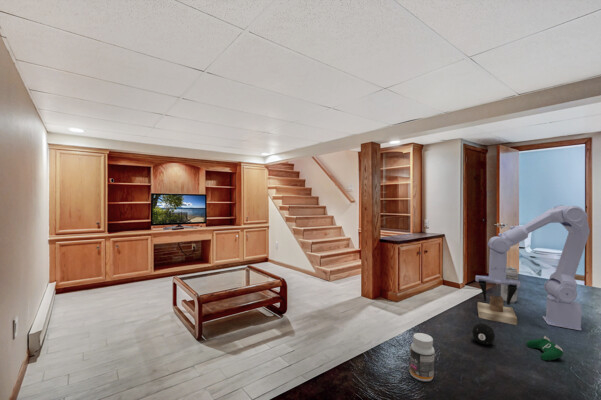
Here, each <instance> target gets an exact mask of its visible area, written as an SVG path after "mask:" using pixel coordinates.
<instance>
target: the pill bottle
mask: <svg viewBox="0 0 601 400" xmlns="http://www.w3.org/2000/svg"><path fill="white" fill-rule="evenodd" d="M412 341H413V342H412V343H411V345H410V355H409V356H410V357H409V374H410V375H411V376H412V377H413V378H414V379H416V380H418V381H420V382H430V381H432V380H433V378H434V375H435V374H434V373H435V355H436V354H435V352H436V351H435V348H434V346H433V345H434V339H433V337H432V336H430V335H429V334H426V333H422V332H415V333H414V334H413V336H412Z"/></svg>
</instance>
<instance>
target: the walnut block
mask: <svg viewBox="0 0 601 400" xmlns="http://www.w3.org/2000/svg"><path fill="white" fill-rule="evenodd" d="M489 304H490V310H491V311H497V312H503V306H504V301H503V298H502V296H501V295H495V294H489Z"/></svg>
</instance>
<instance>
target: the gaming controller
mask: <svg viewBox="0 0 601 400" xmlns="http://www.w3.org/2000/svg"><path fill="white" fill-rule="evenodd" d="M526 346H527V348H530V349H540V350H541V351H542V354H541V355H540V359H541V360H542V361H552V360H557V359H559V358H562V356H563V355H564V351H563V349H562V348H561V347H560V346H559V345H558V344H555V343H554V342H552V341H551V339H549V337H547V336H546V335H544V337H542V338H539V339H530V340H528V341H527V342H526Z"/></svg>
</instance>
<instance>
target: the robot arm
mask: <svg viewBox="0 0 601 400" xmlns="http://www.w3.org/2000/svg"><path fill="white" fill-rule="evenodd" d="M588 217H589V216H588V213H587V211H585V210H584V209H583V208H582V207H580V206H577V205H563V204H561V205H556V206H554V207H553V208H549V209H547V210H546V211H544V212H543V213H541V214H540V215H538V216H536V217H535V218H532V220H530V221H528V222H526V223H525V224H523V225H511V226H509V229H508V230H505V231H504V232H499V233H498V236H495V235H494V236H492V237H490V239H489V240H488V242H487V246H488V248H489V259H488V275H475V281H476V282H478V285H479V287H480V290H481V292H482V295H483V301H485V302H486V301H487V283H490V284H497V285H501V284H503V285H507V291H508V292H507V302H506V304H507V305H508V306H509V305H510V304H511V303H510V301H511V298H512V296H513V295H514V293H515V292H516V290H517V291H518V288H521V281H520V280H518V281H516V280H510V279H506V268H507V267H508V265H507V263H508V262H507V261H508V252H509V251H510V249H511V247H513V246H515V245H517V244H519V243H521V242H522V241H524V240H526V239H528V237H529V234H530V233H532V232H534V231H536V230H538V229H540V228H542V227H545V226H547V225H548V224H551V223H552V224H554V223H555V224H556V223H557V224H560V225H562V227H564V229H566V231H567V232H568V234H567V236H566V239H565V243H564V245H563V249H562V251H561V255H560V256H559V257H560V258H559V260H558V263H557V266H556V269H555V271H554V272H553V273H551V274H550V276H549V278H548V279H547V280H546V281H545V282H544V285H543V288H544V290H545V292H546V293H547V294H546V295H547V296H546V311H545V312H546V314H545V316H542V319H543V320H544V321H545V323H546V324H547V325H549V326H554V327H560V328H565V329H570V330H575V331H576V330H577V331H582V314H583V313H582V312H583V311H582V307H581V304H580V303H579V302H577V301H576V300H577V297H578V292H577V288H578V287H577V286H578V283H577V281H576V274H577V271H578V268H579V265H580V263H581V259H582V256H583V253H584V250H585V247H586V244H587V242H588V239H589V236H590V234H591V233H590V232H591V229H590V226H589V221H588Z"/></svg>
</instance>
